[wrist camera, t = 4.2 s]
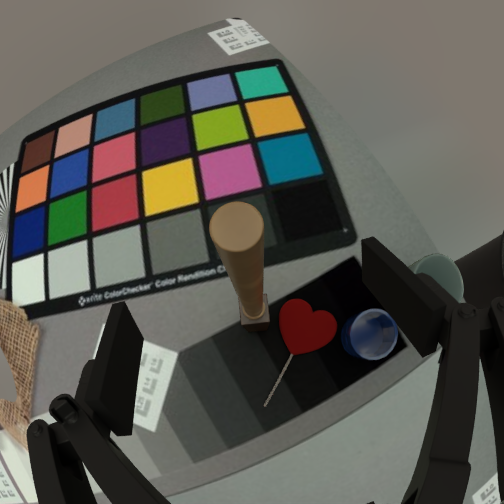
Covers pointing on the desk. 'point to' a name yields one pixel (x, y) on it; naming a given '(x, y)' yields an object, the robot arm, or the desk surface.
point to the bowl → (369, 335)
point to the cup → (441, 273)
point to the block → (255, 324)
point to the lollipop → (303, 330)
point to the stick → (242, 252)
